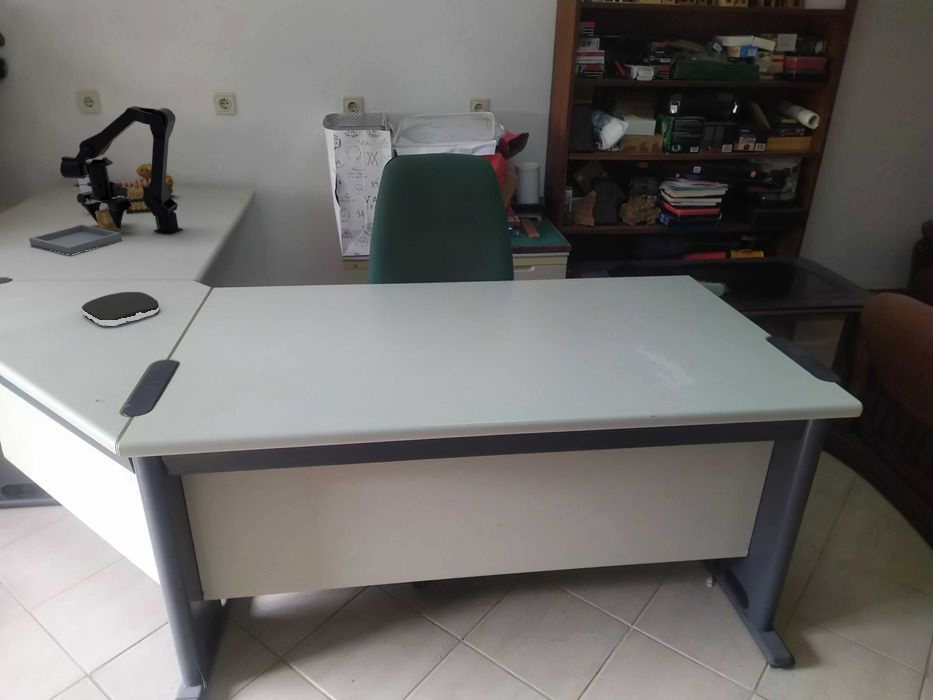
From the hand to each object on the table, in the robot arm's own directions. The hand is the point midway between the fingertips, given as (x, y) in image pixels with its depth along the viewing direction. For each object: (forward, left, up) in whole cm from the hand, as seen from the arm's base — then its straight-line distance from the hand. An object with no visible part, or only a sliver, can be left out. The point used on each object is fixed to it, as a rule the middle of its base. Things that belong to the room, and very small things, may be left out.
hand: (109, 225), depth 220 cm
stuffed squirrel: (+21, -39, -2) cm, 45 cm away
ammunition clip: (+9, -21, -2) cm, 23 cm away
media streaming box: (-60, +45, -2) cm, 75 cm away
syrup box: (+21, -12, -2) cm, 24 cm away
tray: (-4, +15, -1) cm, 16 cm away
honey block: (0, 0, -1) cm, 1 cm away
